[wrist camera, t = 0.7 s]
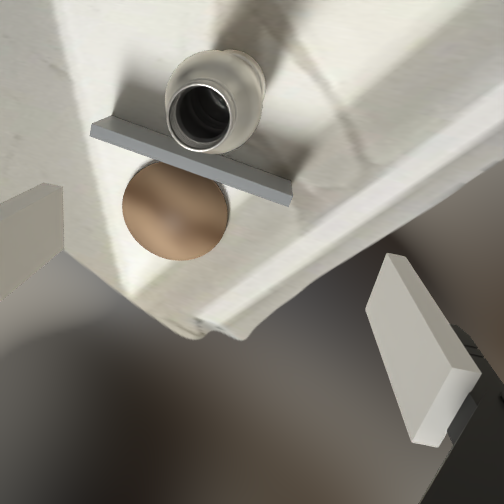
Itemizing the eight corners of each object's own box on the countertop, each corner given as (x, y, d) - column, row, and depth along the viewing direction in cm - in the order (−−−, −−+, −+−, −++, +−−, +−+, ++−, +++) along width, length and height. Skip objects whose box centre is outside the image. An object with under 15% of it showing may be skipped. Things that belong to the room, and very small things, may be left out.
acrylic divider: (111, 115, 41) (91, 123, 36) (290, 180, 43) (292, 196, 38) (109, 126, 41) (89, 136, 37) (286, 190, 43) (288, 206, 39)
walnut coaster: (135, 144, 42) (133, 146, 41) (241, 182, 43) (241, 184, 43) (115, 239, 47) (113, 241, 47) (210, 270, 49) (209, 273, 48)
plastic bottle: (185, 84, 39) (112, 114, 21) (236, 32, 37) (201, 18, 19) (229, 134, 41) (196, 201, 23) (280, 88, 39) (285, 123, 21)
